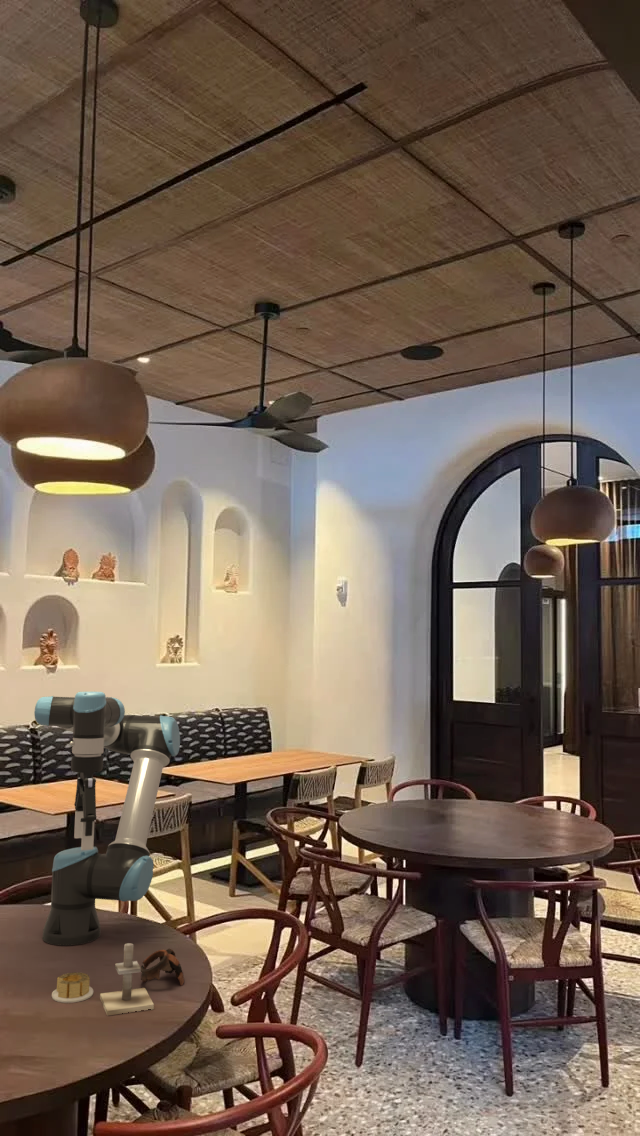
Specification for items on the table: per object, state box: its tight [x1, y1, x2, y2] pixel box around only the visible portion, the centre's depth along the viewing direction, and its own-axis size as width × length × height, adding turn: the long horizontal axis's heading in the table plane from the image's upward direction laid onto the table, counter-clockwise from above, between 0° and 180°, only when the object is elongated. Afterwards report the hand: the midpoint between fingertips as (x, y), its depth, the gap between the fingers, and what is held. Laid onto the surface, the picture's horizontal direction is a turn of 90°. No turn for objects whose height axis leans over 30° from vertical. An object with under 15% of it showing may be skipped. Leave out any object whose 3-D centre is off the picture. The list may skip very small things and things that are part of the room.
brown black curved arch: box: [140, 948, 185, 986], centre depth 203 cm, size 12×10×8 cm
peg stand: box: [99, 942, 155, 1016], centre depth 190 cm, size 10×10×12 cm
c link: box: [56, 971, 91, 999], centre depth 194 cm, size 7×7×3 cm
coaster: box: [51, 986, 94, 1004], centre depth 193 cm, size 9×9×1 cm
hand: (83, 843), depth 208 cm, fingers open, 13 cm apart
